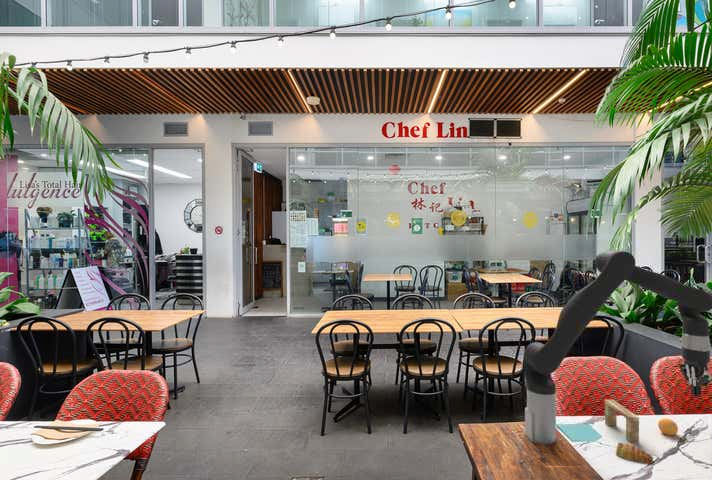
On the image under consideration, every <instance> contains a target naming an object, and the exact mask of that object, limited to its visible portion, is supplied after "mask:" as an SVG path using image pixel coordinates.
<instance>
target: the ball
mask: <svg viewBox="0 0 712 480" xmlns="http://www.w3.org/2000/svg"><path fill="white" fill-rule="evenodd" d="M657 425H658V428H659V431H660V432H661V433H663V434H664V435H666V436H671V437H672V436H676V434H677V433H678V431H679V427H678V425H677V423H676V422H675V421H673V420H672V419H670V418H668V417H667V418H666V417H665V418H661V419H659V421H658V423H657Z"/></svg>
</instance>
